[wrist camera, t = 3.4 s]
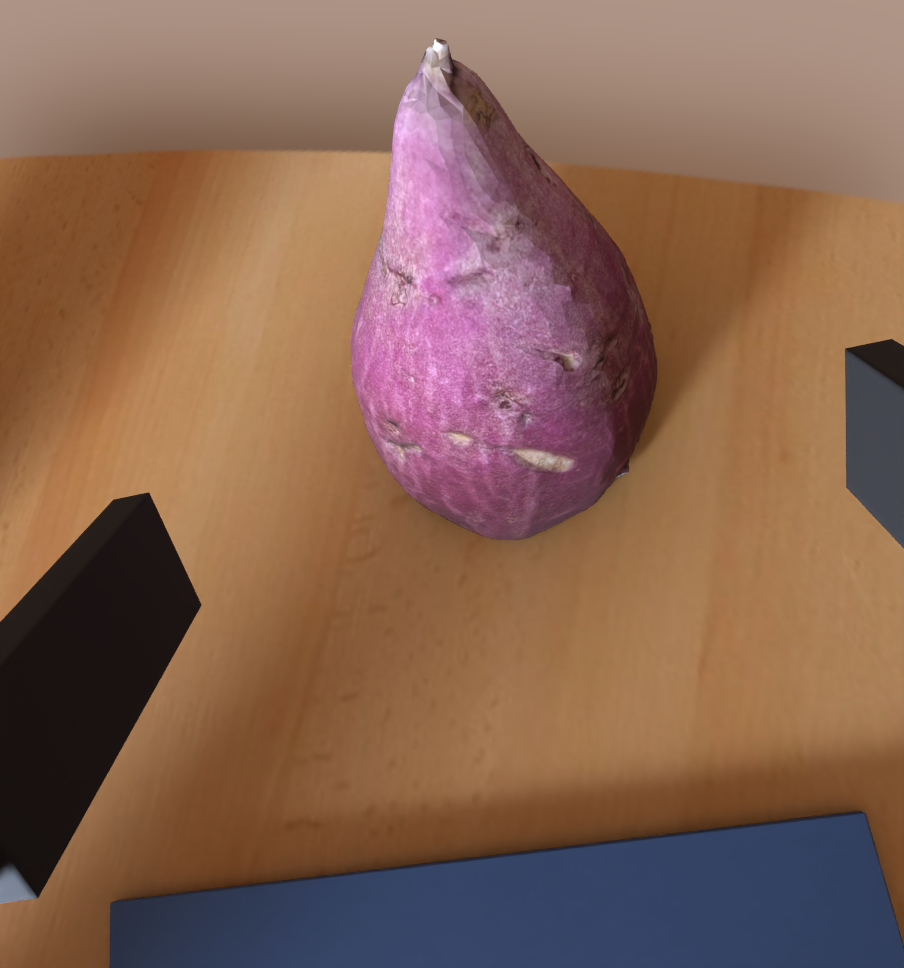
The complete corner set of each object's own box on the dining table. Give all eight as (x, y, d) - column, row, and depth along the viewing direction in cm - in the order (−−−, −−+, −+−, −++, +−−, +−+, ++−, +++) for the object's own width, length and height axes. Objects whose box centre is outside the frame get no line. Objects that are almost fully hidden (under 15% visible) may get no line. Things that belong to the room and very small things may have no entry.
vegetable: (423, 336, 33) (257, -28, 21) (667, 319, 30) (631, -125, 18) (367, 548, 28) (106, 225, 16) (654, 558, 25) (592, 156, 13)
